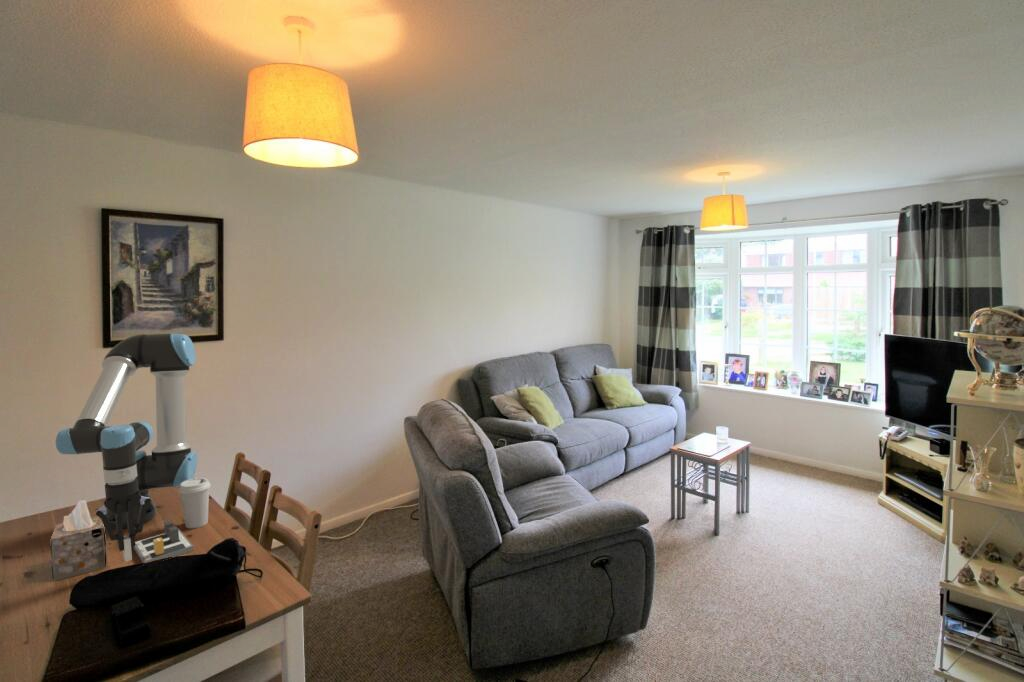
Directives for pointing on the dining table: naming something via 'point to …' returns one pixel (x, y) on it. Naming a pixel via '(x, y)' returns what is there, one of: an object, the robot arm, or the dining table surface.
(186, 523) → the coffee cup
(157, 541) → the toggle
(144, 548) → the panel
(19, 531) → the dining table surface
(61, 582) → the dining table surface
